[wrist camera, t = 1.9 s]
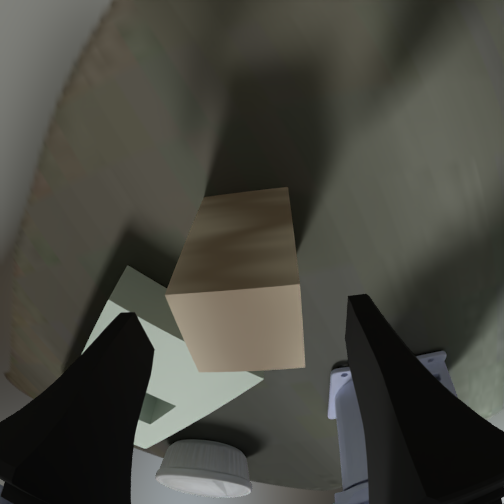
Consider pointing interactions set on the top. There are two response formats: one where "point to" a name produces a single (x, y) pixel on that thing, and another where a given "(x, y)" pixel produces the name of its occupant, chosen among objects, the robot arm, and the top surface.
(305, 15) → the top surface
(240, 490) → the ramekin
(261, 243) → the peg
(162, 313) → the socket block
